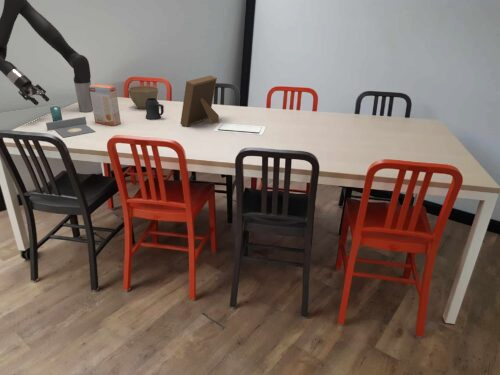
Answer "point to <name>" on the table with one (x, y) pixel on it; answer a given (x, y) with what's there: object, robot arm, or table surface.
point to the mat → (74, 130)
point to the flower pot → (142, 95)
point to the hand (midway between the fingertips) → (43, 102)
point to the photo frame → (199, 101)
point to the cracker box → (105, 104)
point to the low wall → (66, 123)
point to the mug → (153, 109)
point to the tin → (56, 113)
